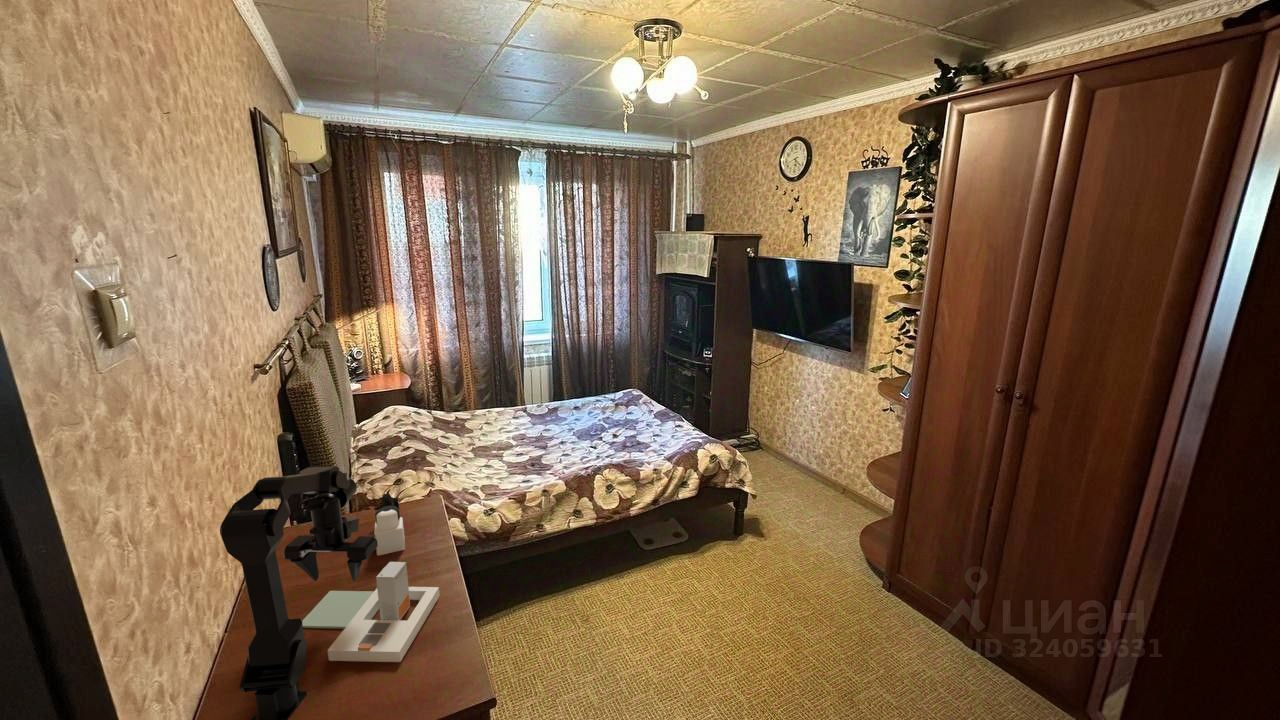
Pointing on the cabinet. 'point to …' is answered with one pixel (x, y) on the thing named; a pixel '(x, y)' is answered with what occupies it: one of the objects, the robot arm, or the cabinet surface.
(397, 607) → the skincare box
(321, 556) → the cabinet surface
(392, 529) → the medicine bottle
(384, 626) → the cream rectangular frame
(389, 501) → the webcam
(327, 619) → the mat
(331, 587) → the cabinet surface
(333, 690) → the cabinet surface
